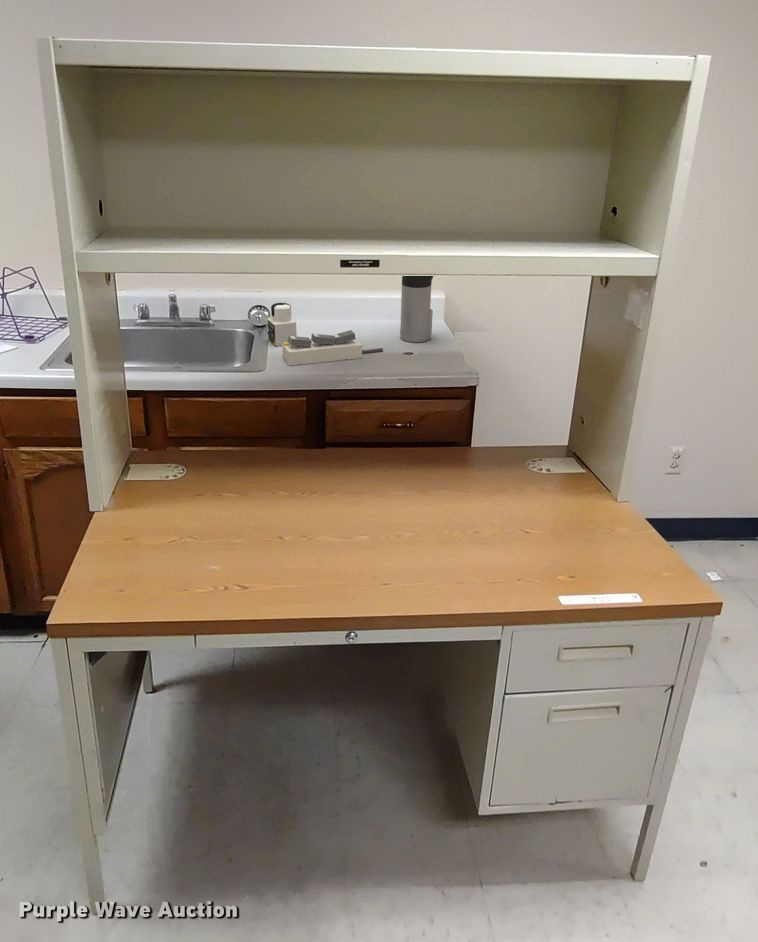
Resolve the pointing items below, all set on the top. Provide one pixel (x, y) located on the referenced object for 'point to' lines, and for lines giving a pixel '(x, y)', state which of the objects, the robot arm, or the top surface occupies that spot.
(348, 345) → the power strip
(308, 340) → the rocker
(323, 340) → the rocker middle
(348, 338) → the rocker
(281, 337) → the medicine bottle
